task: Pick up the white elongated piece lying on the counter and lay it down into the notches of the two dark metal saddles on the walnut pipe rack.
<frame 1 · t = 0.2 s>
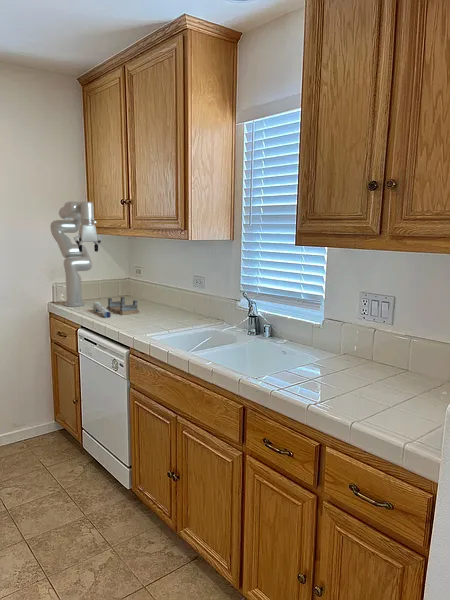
hand: (88, 251, 274), 36 cm above the counter, tool pointing down, fingers open, 9 cm apart
white elongated piece: (101, 314, 271), on the counter
pipe rack: (122, 311, 279), on the counter
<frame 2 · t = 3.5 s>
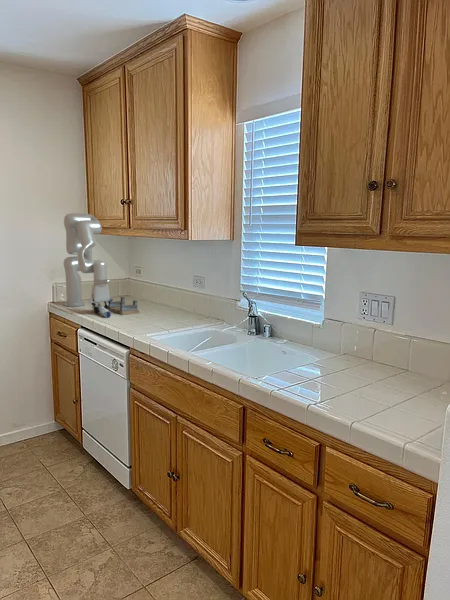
hand: (101, 312, 270), 1 cm above the counter, tool pointing down, fingers closed on white elongated piece, 5 cm apart
white elongated piece: (101, 314, 270), on the counter, touching gripper
when the fingers open (7 cm above the counter, at t = 8.2 s): white elongated piece stays where it is, resting on pipe rack.
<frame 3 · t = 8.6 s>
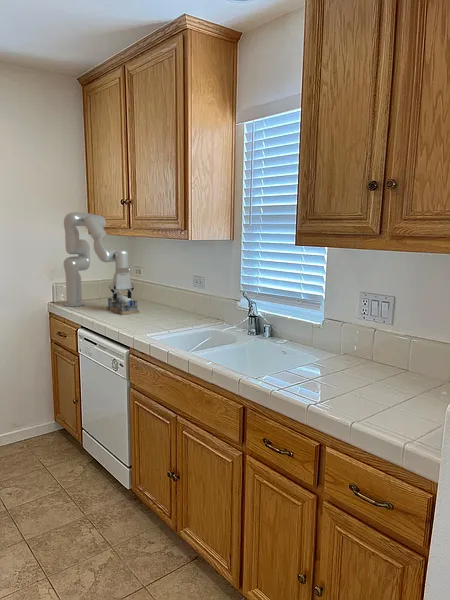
hand: (122, 298, 278), 8 cm above the counter, tool pointing down, fingers open, 9 cm apart
white elongated piece: (122, 303, 278), point 5 cm above the counter, touching pipe rack
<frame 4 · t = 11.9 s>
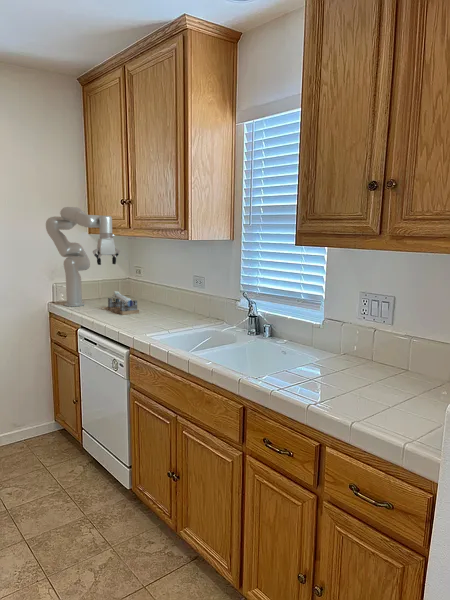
hand: (106, 264, 279), 28 cm above the counter, tool pointing down, fingers open, 9 cm apart
nothing on the counter moved.
at the end: white elongated piece 0.3 cm off-centre on the pipe rack, point 4.8 cm above the pipe rack's base; white elongated piece touching pipe rack; the gripper is holding nothing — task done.
